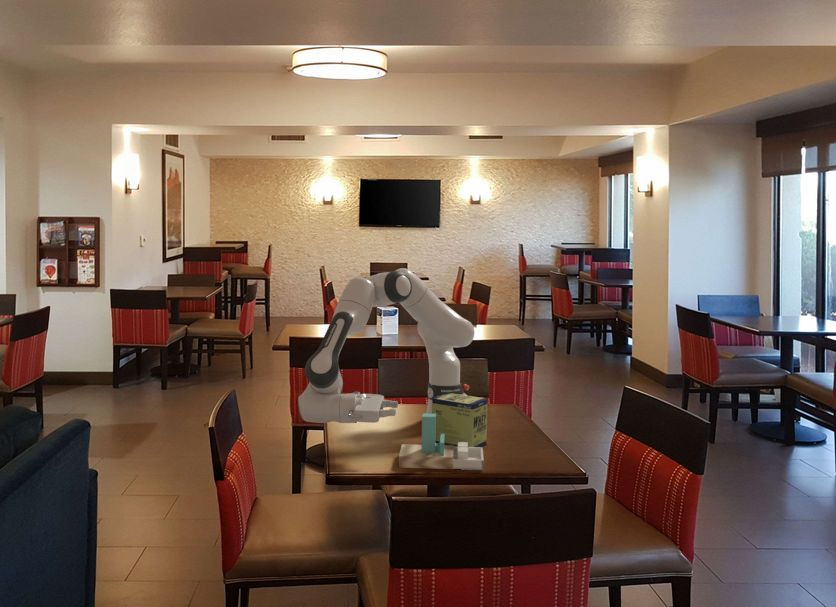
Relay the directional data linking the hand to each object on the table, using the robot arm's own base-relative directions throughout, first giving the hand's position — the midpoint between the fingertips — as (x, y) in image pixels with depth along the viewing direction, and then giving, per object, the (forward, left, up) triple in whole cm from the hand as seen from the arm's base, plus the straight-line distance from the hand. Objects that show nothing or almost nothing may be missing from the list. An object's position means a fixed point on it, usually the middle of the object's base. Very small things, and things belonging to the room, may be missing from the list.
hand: (396, 408), depth 254 cm
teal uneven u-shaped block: (-9, +6, -13) cm, 17 cm away
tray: (-18, +12, -16) cm, 27 cm away
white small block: (-14, +13, -14) cm, 23 cm away
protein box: (-27, -7, -17) cm, 32 cm away
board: (-8, +5, -16) cm, 19 cm away
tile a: (-17, +8, -14) cm, 23 cm away
